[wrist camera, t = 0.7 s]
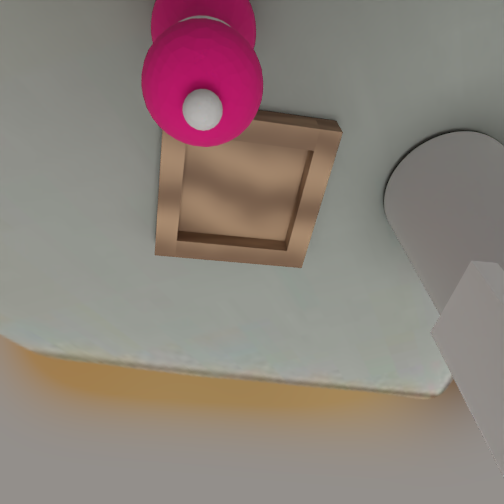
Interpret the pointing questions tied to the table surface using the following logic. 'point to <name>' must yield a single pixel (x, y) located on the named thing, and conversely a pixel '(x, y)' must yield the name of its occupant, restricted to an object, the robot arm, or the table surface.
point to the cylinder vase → (449, 208)
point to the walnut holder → (246, 192)
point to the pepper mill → (202, 70)
